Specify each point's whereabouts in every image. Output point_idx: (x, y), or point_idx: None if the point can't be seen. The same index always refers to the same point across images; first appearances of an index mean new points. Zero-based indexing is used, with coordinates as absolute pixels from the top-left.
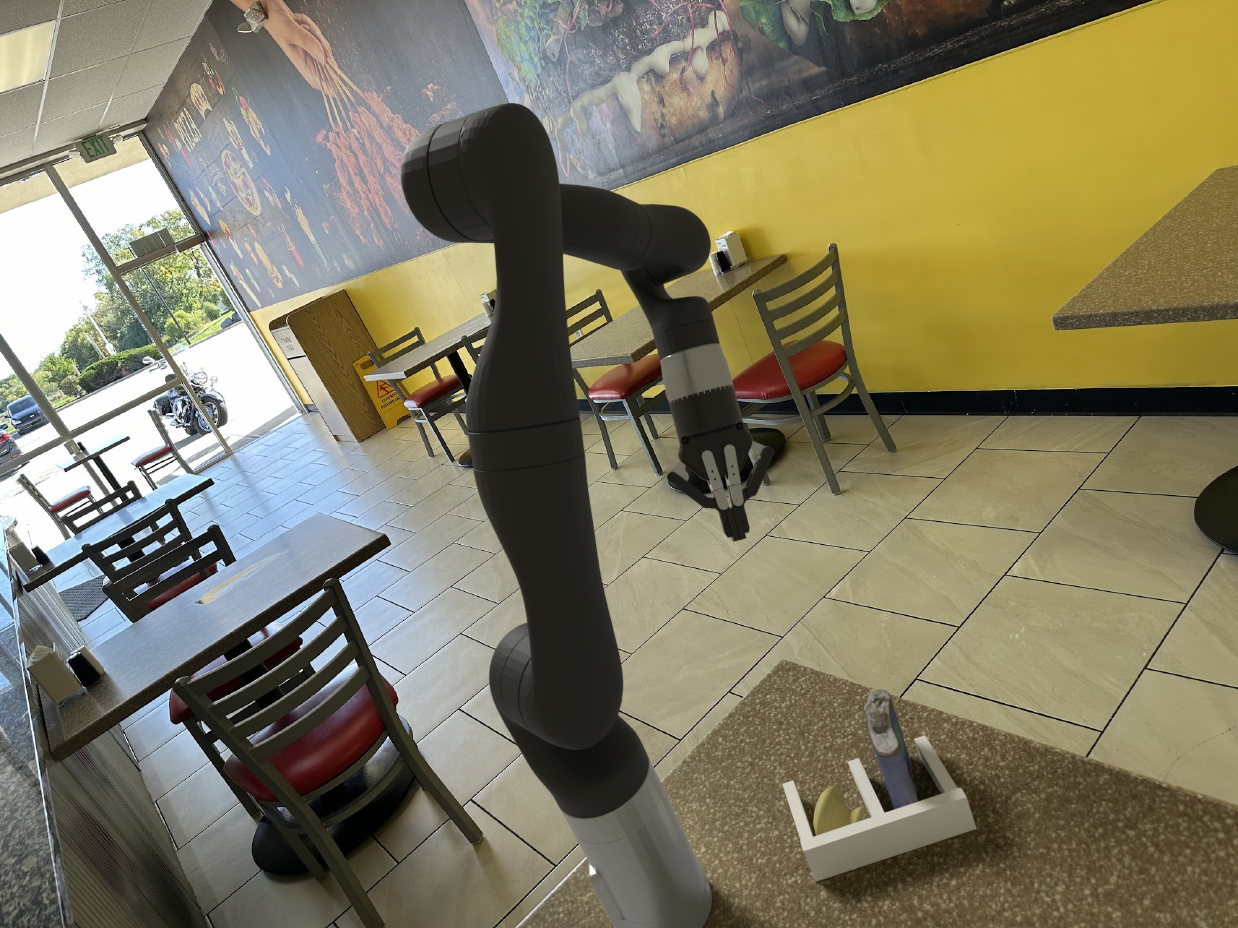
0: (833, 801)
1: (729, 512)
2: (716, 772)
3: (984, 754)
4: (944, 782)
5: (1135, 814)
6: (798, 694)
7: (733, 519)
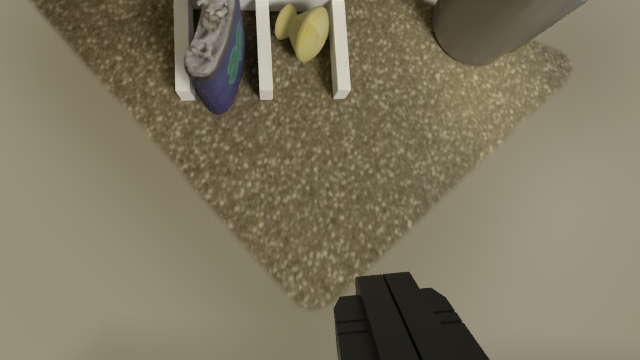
0: (303, 15)
1: (438, 347)
2: (417, 171)
3: (129, 76)
4: (183, 20)
5: None
6: (301, 264)
7: (412, 320)
